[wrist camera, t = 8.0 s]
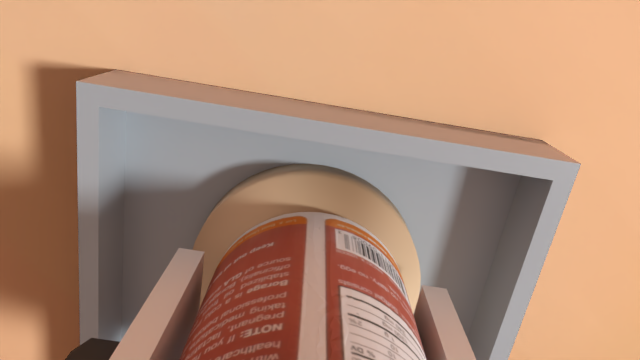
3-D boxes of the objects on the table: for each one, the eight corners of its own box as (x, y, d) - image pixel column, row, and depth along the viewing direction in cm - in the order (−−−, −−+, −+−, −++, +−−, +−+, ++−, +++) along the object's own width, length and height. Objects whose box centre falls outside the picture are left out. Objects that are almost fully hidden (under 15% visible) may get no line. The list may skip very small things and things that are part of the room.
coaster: (191, 338, 18) (181, 360, 17) (207, 146, 15) (197, 157, 14) (388, 366, 18) (392, 390, 17) (437, 183, 15) (446, 197, 14)
